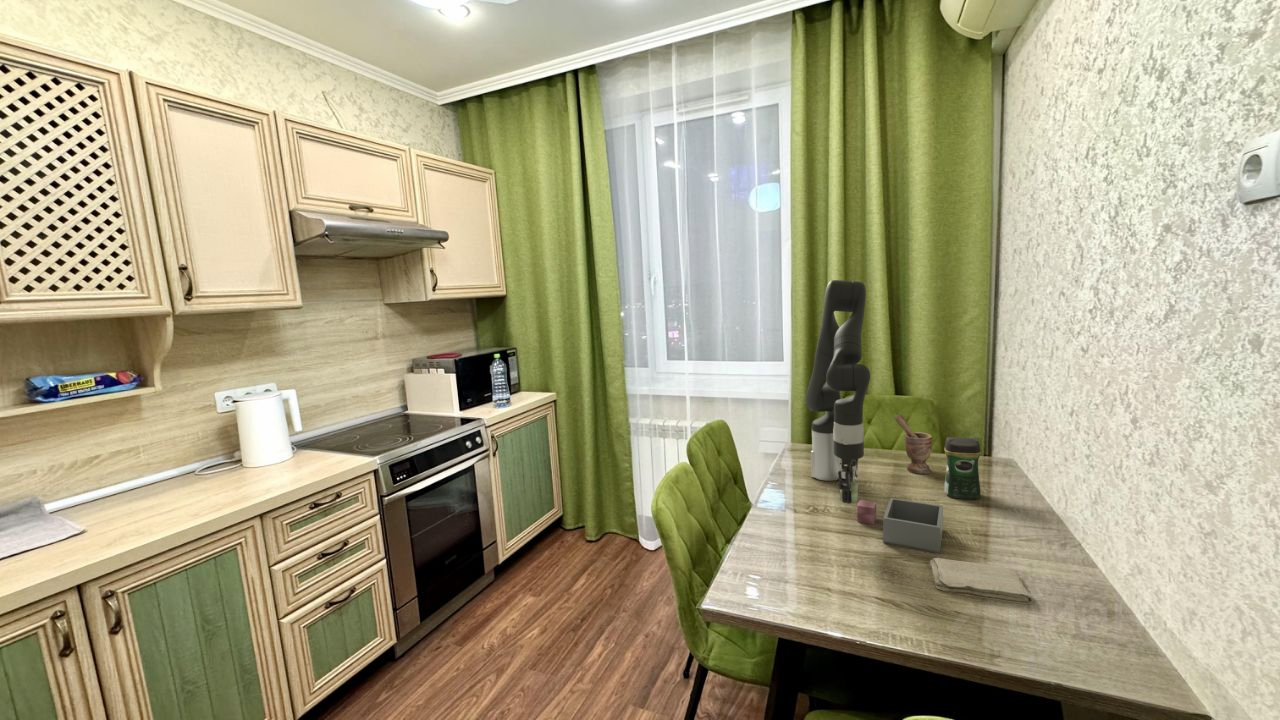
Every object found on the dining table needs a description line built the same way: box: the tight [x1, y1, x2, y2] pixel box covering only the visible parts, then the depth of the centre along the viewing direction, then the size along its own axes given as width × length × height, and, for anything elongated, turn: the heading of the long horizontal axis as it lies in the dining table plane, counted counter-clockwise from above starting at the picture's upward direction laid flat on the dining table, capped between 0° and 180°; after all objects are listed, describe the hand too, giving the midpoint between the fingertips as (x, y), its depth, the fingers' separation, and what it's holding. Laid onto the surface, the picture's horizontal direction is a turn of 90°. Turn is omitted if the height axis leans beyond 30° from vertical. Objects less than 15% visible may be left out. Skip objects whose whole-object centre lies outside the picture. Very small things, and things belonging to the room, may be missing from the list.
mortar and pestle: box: [894, 414, 933, 475], centre depth 181 cm, size 12×9×20 cm
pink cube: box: [856, 499, 877, 525], centre depth 148 cm, size 4×4×5 cm
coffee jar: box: [943, 436, 982, 500], centre depth 158 cm, size 10×8×19 cm
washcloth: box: [929, 557, 1034, 605], centre depth 115 cm, size 12×18×3 cm, turn 68°
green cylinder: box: [839, 480, 859, 505], centre depth 137 cm, size 4×4×5 cm
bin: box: [882, 497, 944, 555], centre depth 137 cm, size 13×14×7 cm
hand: (848, 498), depth 137 cm, fingers closed on green cylinder, 4 cm apart
